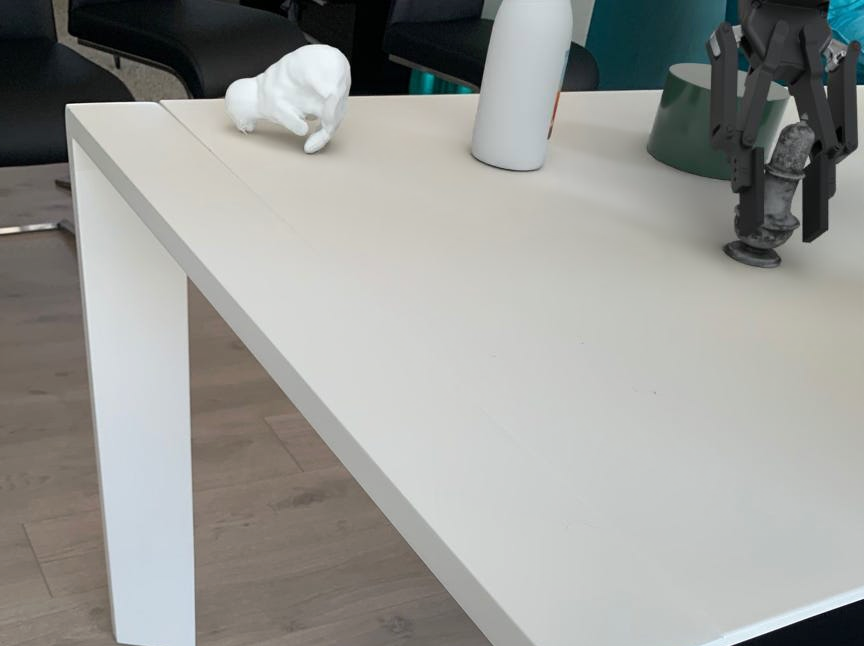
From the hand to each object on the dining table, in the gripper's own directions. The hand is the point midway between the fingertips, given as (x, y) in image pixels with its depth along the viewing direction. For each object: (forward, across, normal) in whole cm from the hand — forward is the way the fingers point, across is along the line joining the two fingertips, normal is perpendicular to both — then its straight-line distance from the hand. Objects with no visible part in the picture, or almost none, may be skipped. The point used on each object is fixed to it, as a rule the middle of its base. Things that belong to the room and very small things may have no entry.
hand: (783, 232), depth 87 cm
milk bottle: (-14, +19, -19) cm, 31 cm away
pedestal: (-20, -5, -25) cm, 32 cm away
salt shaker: (0, 0, -5) cm, 5 cm away
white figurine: (-13, +42, -18) cm, 47 cm away
